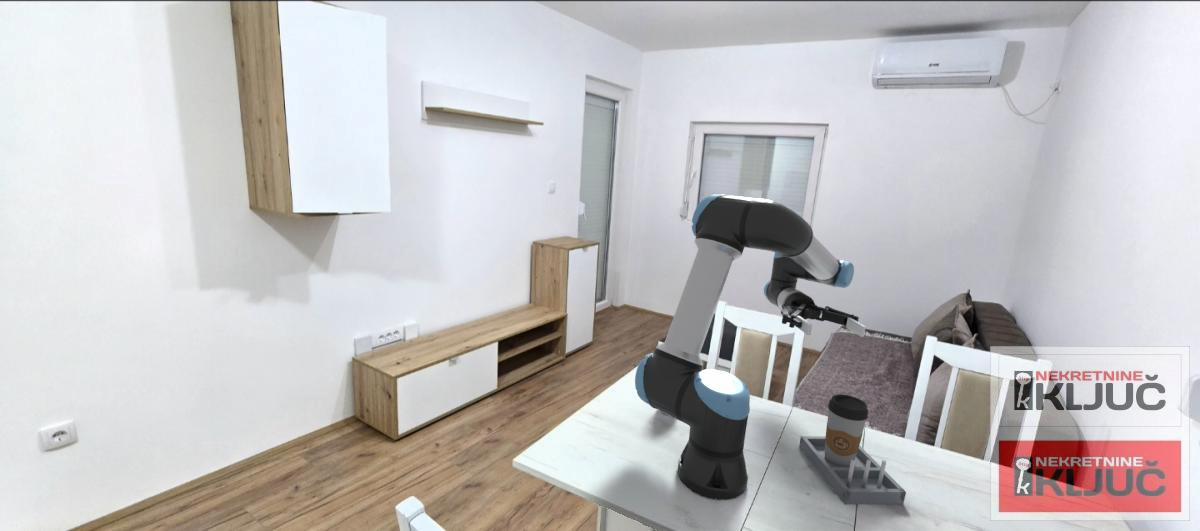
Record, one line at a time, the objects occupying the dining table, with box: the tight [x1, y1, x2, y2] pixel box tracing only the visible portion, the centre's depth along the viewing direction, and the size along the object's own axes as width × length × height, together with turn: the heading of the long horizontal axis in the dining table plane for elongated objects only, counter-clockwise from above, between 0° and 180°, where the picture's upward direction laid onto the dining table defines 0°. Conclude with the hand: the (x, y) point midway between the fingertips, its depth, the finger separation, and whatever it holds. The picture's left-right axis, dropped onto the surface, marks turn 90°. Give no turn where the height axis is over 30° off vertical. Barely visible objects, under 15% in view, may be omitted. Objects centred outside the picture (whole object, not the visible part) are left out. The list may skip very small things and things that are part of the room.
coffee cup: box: [824, 393, 869, 467], centre depth 111 cm, size 8×8×15 cm
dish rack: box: [798, 435, 907, 505], centre depth 108 cm, size 20×13×8 cm, turn 4°
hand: (836, 330), depth 115 cm, fingers open, 13 cm apart
